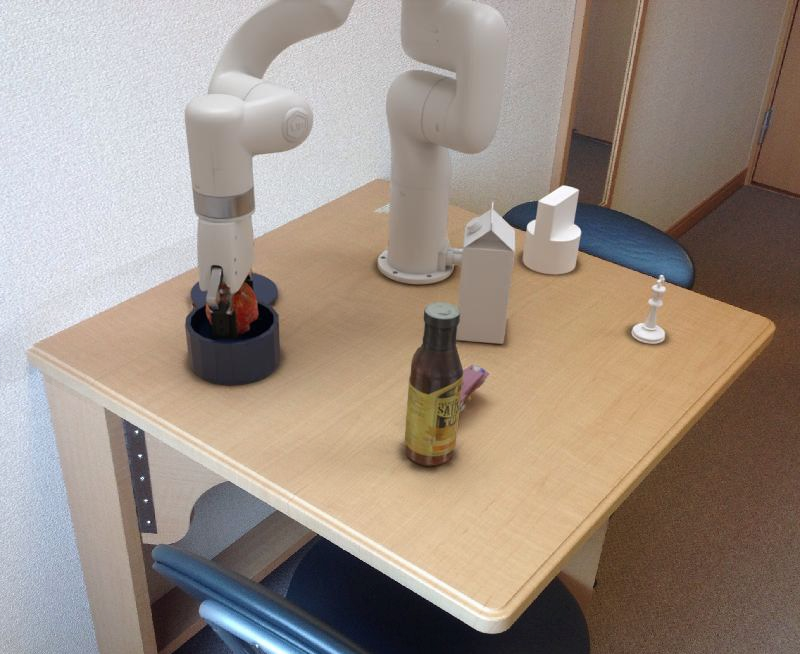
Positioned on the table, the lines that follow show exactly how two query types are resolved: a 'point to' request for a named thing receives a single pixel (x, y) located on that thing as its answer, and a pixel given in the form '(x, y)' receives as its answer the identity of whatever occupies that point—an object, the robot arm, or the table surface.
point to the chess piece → (652, 318)
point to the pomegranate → (241, 307)
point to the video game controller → (471, 382)
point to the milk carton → (485, 278)
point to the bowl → (233, 348)
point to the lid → (262, 289)
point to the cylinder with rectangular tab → (553, 234)
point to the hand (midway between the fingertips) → (234, 320)
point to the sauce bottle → (434, 388)
